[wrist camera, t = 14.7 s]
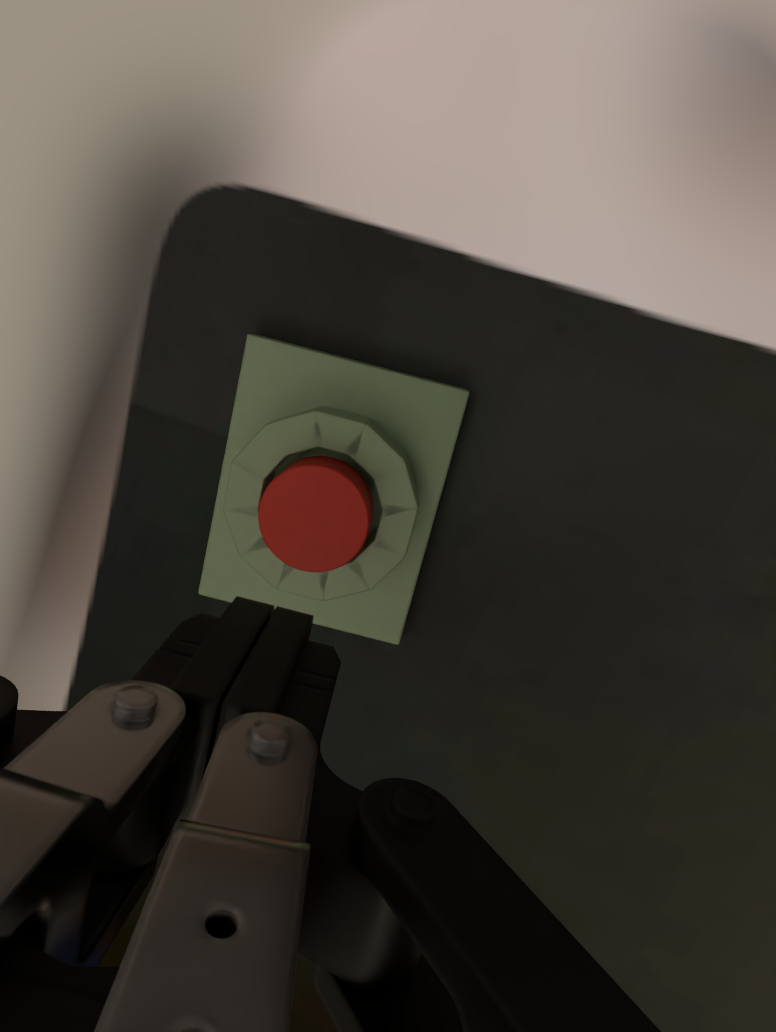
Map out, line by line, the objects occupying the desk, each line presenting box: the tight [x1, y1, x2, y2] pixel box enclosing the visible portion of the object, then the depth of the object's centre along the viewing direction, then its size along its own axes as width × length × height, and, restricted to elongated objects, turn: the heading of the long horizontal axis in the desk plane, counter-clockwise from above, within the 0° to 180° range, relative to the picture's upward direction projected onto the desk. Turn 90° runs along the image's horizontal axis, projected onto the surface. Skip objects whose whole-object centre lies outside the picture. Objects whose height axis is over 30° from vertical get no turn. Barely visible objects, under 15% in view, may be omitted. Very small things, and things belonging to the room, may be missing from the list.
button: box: [258, 456, 373, 572], centre depth 22 cm, size 4×4×2 cm
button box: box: [199, 334, 470, 645], centre depth 24 cm, size 10×8×3 cm
